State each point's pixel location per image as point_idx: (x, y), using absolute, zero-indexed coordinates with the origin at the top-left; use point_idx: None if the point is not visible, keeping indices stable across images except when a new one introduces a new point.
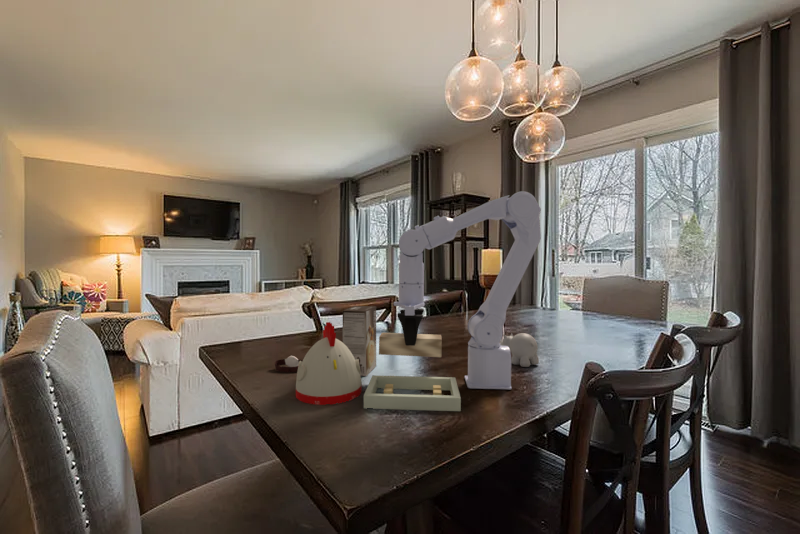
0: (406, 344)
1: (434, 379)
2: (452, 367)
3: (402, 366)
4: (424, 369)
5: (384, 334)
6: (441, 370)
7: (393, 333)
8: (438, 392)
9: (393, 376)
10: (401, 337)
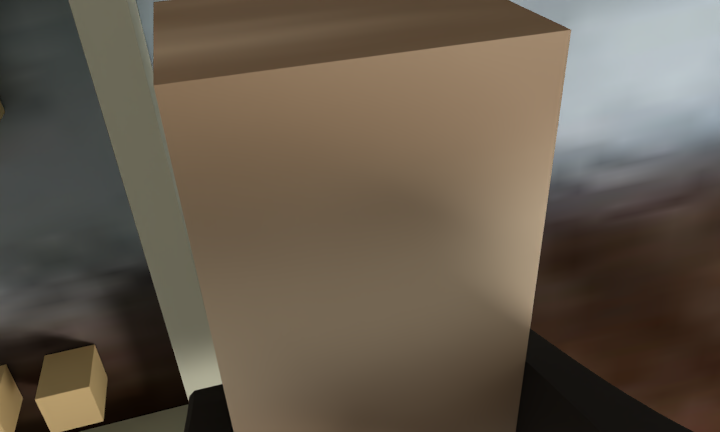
0: (190, 405)
1: (182, 380)
2: (602, 329)
3: (652, 38)
4: (573, 198)
5: (403, 119)
6: (550, 290)
7: (505, 227)
8: None
9: (138, 114)
10: (242, 401)
